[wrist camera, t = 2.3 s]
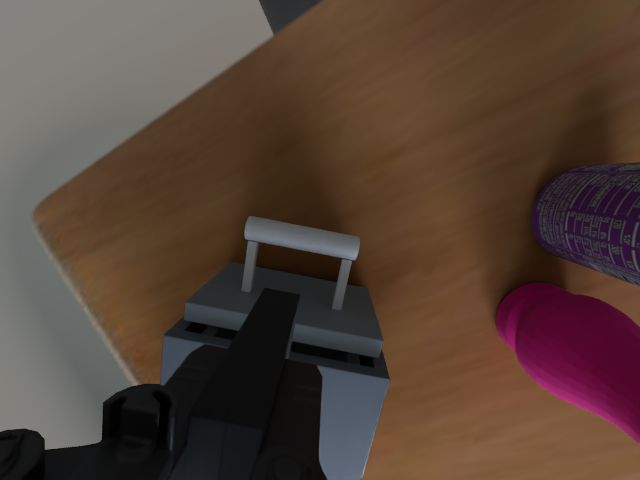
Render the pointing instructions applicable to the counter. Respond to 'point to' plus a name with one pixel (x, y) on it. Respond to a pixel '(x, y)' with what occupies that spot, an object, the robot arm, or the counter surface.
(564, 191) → the beverage can
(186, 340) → the cabinet
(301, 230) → the drawer
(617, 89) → the counter surface
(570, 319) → the pepper mill
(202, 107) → the counter surface
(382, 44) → the counter surface
